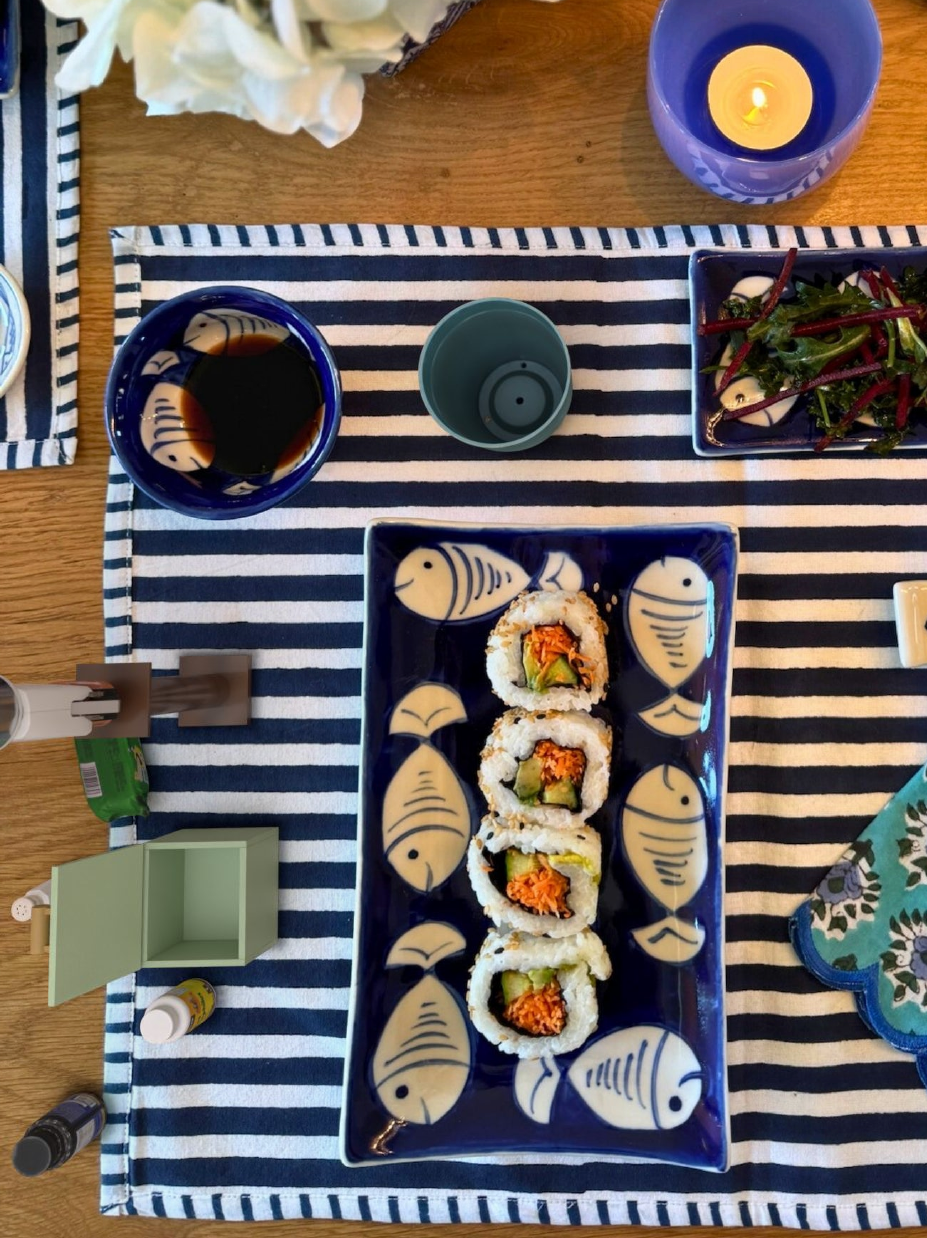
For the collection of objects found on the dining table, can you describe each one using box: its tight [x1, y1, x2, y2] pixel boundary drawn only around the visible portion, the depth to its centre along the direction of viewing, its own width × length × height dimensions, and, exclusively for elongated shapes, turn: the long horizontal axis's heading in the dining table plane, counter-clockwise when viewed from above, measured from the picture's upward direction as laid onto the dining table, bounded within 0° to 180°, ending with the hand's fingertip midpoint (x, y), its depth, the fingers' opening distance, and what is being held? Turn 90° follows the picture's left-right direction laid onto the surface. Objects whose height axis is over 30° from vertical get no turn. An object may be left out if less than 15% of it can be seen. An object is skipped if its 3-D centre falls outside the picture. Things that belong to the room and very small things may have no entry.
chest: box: [141, 826, 280, 969], centre depth 135 cm, size 13×15×10 cm
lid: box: [29, 843, 143, 1008], centre depth 123 cm, size 13×15×5 cm
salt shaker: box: [10, 878, 51, 922], centre depth 135 cm, size 5×5×11 cm
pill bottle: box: [11, 1091, 108, 1178], centre depth 132 cm, size 6×6×11 cm
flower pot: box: [417, 296, 574, 453], centre depth 136 cm, size 18×18×17 cm
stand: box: [73, 654, 253, 740], centre depth 130 cm, size 9×9×25 cm
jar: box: [48, 679, 114, 728], centre depth 111 cm, size 5×5×7 cm
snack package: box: [73, 737, 151, 824], centre depth 139 cm, size 7×16×5 cm, turn 15°
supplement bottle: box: [139, 977, 217, 1045], centre depth 133 cm, size 6×6×10 cm
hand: (86, 704), depth 113 cm, fingers closed on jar, 5 cm apart
